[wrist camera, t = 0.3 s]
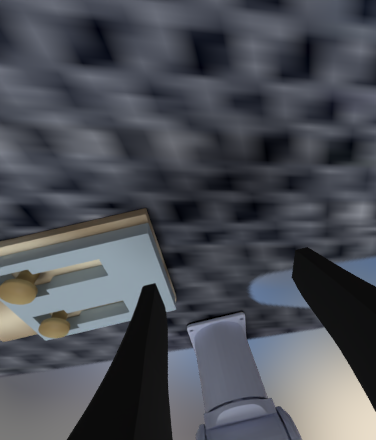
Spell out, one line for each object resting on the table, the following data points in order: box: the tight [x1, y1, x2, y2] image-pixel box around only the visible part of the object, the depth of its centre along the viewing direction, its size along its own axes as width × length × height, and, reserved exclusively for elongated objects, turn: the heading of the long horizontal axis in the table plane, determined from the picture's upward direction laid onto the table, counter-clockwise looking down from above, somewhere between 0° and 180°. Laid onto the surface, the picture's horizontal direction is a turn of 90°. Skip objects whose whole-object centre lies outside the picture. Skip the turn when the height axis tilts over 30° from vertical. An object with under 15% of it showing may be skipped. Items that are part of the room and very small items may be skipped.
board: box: [0, 208, 176, 342], centre depth 20 cm, size 12×20×3 cm, turn 100°
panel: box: [0, 223, 176, 341], centre depth 20 cm, size 10×14×2 cm
